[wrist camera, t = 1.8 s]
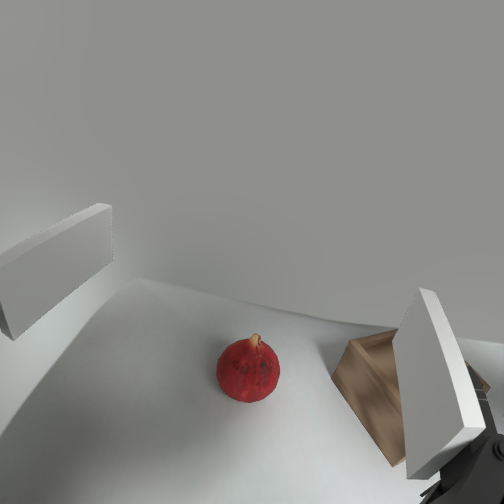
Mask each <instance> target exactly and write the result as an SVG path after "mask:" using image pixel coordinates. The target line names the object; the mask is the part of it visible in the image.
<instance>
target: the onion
mask: <svg viewBox="0 0 504 504" xmlns="http://www.w3.org/2000/svg"><path fill="white" fill-rule="evenodd" d="M260 340H261V337H260V335H258V334H254V335H253V336H252V337H250V339H244V340H239V341H237V342H235V343H234V344H232V345H230V346H229V347H227V348H226V350H225V351H224V352H223V353H222V355H221V356H220V358H219V359H218V363H217V379H218V381H219V384H220V386H221V388H222V389H223V390H224V392H225V393H226V394H227V395H228V396H229V397H231V398H233V399H235V400H237V401H241V402H247V403H251V402H256V401H260V400H262V399H264V398H265V397H267V396H268V395H269V394H270V393H272V392H273V390H274V389H275V388H276V385H277V382H278V379H279V375H280V366H279V361H278V357H277V355H276V354H275V352H274V351H273V350H272V348H271V347H270V346H269V345H267V344H266V343H264V342H263V341H260Z"/></svg>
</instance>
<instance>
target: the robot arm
mask: <svg viewBox="0 0 504 504" xmlns="http://www.w3.org/2000/svg"><path fill="white" fill-rule="evenodd" d="M112 255H113V254H112V206H110V205H106V204H102V203H97V204H95V205H93V206H91V207H89V208H87V209H85V210H83V211H80V212H78V213H76V214H74V215H72V216H70V217H68V218H66V219H64V220H62V221H60V222H58V223H57V224H54V225H52V226H51V227H49V228H47V229H45V230H43V231H41V232H39V233H37V234H35V235H33V236H32V237H30V238H28V239H26V240H24V241H23V242H21V243H19V244H17V245H15V246H14V247H12V248H10V249H8V250H7V251H5V252H3V253H2V254H0V329H1V332H2V333H4V334H5V335H6V336H8V337H9V338H10V339H11V340H13V341H14V340H15V339H16V338H18V337H19V336H20V335H21V334H22V333H23V332H25V330H27V329H28V328H29V327H30V326H31V325H33V324H34V323H35V322H36V321H37V320H38V319H40V318H41V317H42V316H43V315H45V314H46V313H47V312H48V311H49V310H51V309H52V308H53V307H54V306H55V305H57V304H58V303H59V302H60V301H62V300H63V299H64V298H65V297H67V296H68V295H69V294H70V293H72V292H73V291H74V290H75V289H77V288H78V287H79V286H80V285H82V284H83V283H84V282H86V281H87V280H88V279H89V278H91V277H92V276H93V275H95V274H96V273H97V272H99V271H100V270H101V269H102V268H104V267H105V266H106V265H108V264H109V263H110V262H112V261H113V256H112ZM392 345H393V350H394V356H395V363H396V369H397V376H398V383H399V390H400V398H401V407H402V416H403V426H404V438H405V451H406V469H407V479H418V480H428V479H429V478H430V477H432V476H433V475H434V474H435V473H437V472H438V471H439V470H440V478H441V480H439V481H438V482H437V483H435V484H434V485H433V486H431V487H430V488H428V489H427V490H426V491H424V492H423V493H422V494H421V495H420V496H421V497H423V496H425V495H426V494H427V493H428V494H427V495H426V496H425V498H424V499H423V500H422V502H421V503H420V504H504V435H503V434H497V430H496V427H495V423H494V420H493V417H492V414H491V410H490V407H489V404H488V401H486V399H487V398H486V395H485V393H484V391H483V387H482V384H481V381H480V379H479V377H478V375H477V374H476V373H475V371H474V370H473V369H472V367H471V366H466V364H465V362H464V359H463V357H462V354H461V351H460V349H459V346H458V344H457V341H456V339H455V336H454V334H453V332H452V330H451V327H450V325H449V322H448V320H447V318H446V316H445V313H444V311H443V309H442V307H441V305H440V302H439V300H438V298H437V296H436V294H435V292H433V291H429V290H425V289H422V288H418V290H417V292H416V294H415V296H414V299H413V301H412V303H411V305H410V307H409V309H408V311H407V313H406V315H405V317H404V319H403V321H402V323H401V325H400V327H399V329H398V331H397V333H396V334H395V336H394V338H393V340H392Z"/></svg>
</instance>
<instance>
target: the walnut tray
mask: <svg viewBox="0 0 504 504" xmlns="http://www.w3.org/2000/svg"><path fill="white" fill-rule="evenodd" d="M397 331H398V329H396V330H392V331H388V332H384V333H380V334H376V335H372V336H368V337H363V338H359V339H355V340H350V341H349V343H348V346H347V348H346V350H345V352H344V354H343V356H342V358H341V360H340V362H339V364H338V366H337V368H336V370H335V372H334V374H333V376H332V378H331V379H332V381H333V382H334V383H335V385H336V386H337V388H338V389H339V391H340V392H341V394H342V395H343V396H344V398H345V399H346V401H347V402H348V404H349V405H350V407H351V408H352V409H353V411H354V412H355V414H356V415H357V417H358V418H359V420H360V421H361V422H362V424H363V425H364V427H365V428H366V430H367V431H368V433H369V434H370V435H371V437H372V438H373V440H374V441H375V443H376V444H377V445H378V447H379V448H380V450H381V451H382V453H383V454H384V456H385V457H386V458H387V460H388V461H389V463H390V464H391V466H392V467H394V466H396V465H397V464H399V463H401V462H402V461H404V460H406V451H405V438H404V426H403V416H402V407H401V398H400V390H399V383H398V376H397V369H396V363H395V356H394V350H393V345H392V340H393V338H394V336H395V334H396V333H397ZM464 362H465V364H466V366H470V365H469V364H468V363H467V362H466V361H465V360H464ZM472 369H473V368H472ZM473 370H474V369H473ZM474 371H475V370H474ZM475 373H476V374H477V375H478V377H479V379H480V381H481V384H482V387H483V391H484V393H485V394H486V393H487V392H488V390H489V389H490V388H491V387H490V386H489V385H488V384H487V383H486V382H485V381H484V380H483V379H482V378H481V376H480V375H479V374H478V373H477V372H476V371H475Z"/></svg>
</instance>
